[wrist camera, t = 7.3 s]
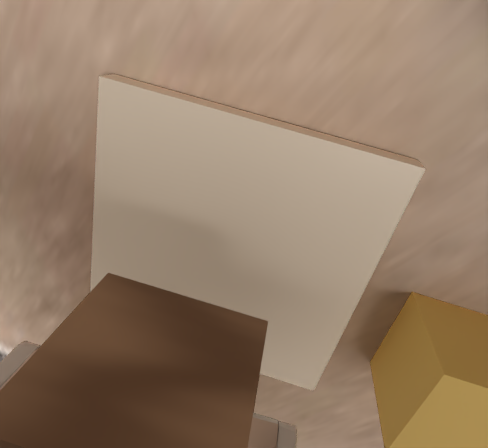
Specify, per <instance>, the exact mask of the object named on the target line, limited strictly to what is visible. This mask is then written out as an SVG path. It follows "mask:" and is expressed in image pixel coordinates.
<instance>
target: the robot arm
mask: <svg viewBox="0 0 488 448" xmlns="http://www.w3.org/2000/svg"><path fill="white" fill-rule="evenodd" d="M40 347H41V346H40V345H37V344H34V343H31V342H28V341H24V342H22V343H20V344H19V345H17V346H16V347H15V348H14V349H13V350H12V351H11V352H10V353H9V354H8V355H7V356H6V357H5V358H4V359H3V360H2V362H0V390H1V389H2V388H3V387H4V386H5V385H6V384H7V383H8V382H9V380H10V379H11V378H12V377H13V376H14V375H15V374H16V373H17V372H18V371H19V370H20V368H21V367H22V366H23V365H24V364H25V363H26V362H27V361H28V360H29V359H30V358H31V356H32V355H33V354H34V353H35V352H36V351H37V350H38V349H39V348H40ZM296 438H297V430H296V427H295V426H294V425H291V424H287V423H284V422H280V421H278V420H276V419H273V418H269V417H266V416H263V415H259V414H256V413H253V417H252V424H251V430H250V436H249V442H248V448H296Z"/></svg>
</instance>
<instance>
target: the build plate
mask: <svg viewBox="0 0 488 448" xmlns="http://www.w3.org/2000/svg"><path fill="white" fill-rule="evenodd" d="M425 170H426V168H425V167H424V166H423V165H422V164H421V163H420V162H419V161H418V160H416V159H413V158H409V157H406V156H402V155H399V154H395V153H392V152H388V151H385V150H381V149H378V148H374V147H371V146H367V145H363V144H360V143H356V142H353V141H349V140H346V139H342V138H339V137H335V136H332V135H328V134H325V133H321V132H317V131H314V130H310V129H307V128H303V127H300V126H296V125H293V124H289V123H286V122H282V121H279V120H275V119H272V118H268V117H264V116H261V115H257V114H254V113H250V112H247V111H243V110H240V109H236V108H233V107H229V106H226V105H222V104H219V103H215V102H211V101H208V100H204V99H201V98H197V97H194V96H190V95H187V94H183V93H180V92H176V91H173V90H169V89H166V88H162V87H158V86H155V85H151V84H148V83H144V82H141V81H137V80H134V79H130V78H127V77H123V76H120V75H116V74H110V75H102V76H99V85H98V109H97V134H96V159H95V184H94V208H93V233H92V258H91V282H90V292H91V291H92V290H93V289H94V288H95V286H96V285H97V284H98V283H99V282H100V281H101V280H102V279H103V278H104V277H105V276H106V274H107V273H111V274H115V275H118V276H121V277H124V278H128V279H131V280H134V281H138V282H141V283H144V284H148V285H151V286H154V287H157V288H161V289H164V290H167V291H171V292H174V293H177V294H180V295H184V296H187V297H190V298H194V299H197V300H200V301H204V302H207V303H210V304H213V305H217V306H220V307H223V308H227V309H230V310H233V311H236V312H240V313H243V314H246V315H250V316H253V317H256V318H260V319H263V320H266V321H268V326H267V332H266V338H265V344H264V350H263V356H262V362H261V369H260V374H262V375H265V376H268V377H271V378H274V379H277V380H280V381H283V382H287V383H290V384H293V385H296V386H299V387H302V388H305V389H308V390H311V391H314V389H315V387H316V385H317V383H318V381H319V379H320V377H321V375H322V373H323V371H324V370H325V368H326V366H327V364H328V362H329V360H330V358H331V356H332V354H333V352H334V350H335V348H336V346H337V344H338V342H339V340H340V338H341V336H342V334H343V332H344V330H345V328H346V326H347V324H348V322H349V320H350V318H351V316H352V314H353V312H354V310H355V308H356V306H357V304H358V302H359V300H360V298H361V296H362V294H363V292H364V290H365V288H366V286H367V284H368V282H369V280H370V278H371V276H372V274H373V272H374V271H375V269H376V267H377V265H378V263H379V261H380V259H381V257H382V255H383V253H384V251H385V249H386V247H387V245H388V243H389V241H390V239H391V237H392V235H393V233H394V231H395V229H396V227H397V225H398V223H399V221H400V219H401V217H402V215H403V213H404V211H405V209H406V207H407V205H408V203H409V201H410V199H411V197H412V195H413V193H414V191H415V189H416V187H417V185H418V183H419V181H420V179H421V177H422V175H423V174H424V172H425Z"/></svg>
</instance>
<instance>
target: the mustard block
mask: <svg viewBox="0 0 488 448" xmlns="http://www.w3.org/2000/svg"><path fill="white" fill-rule="evenodd" d="M370 365H371V371H372V377H373V383H374V389H375V395H376V401H377V406H378V412H379V418H380V424H381V430H382V436H383V442H384V448H488V315H486V314H482V313H479V312H476V311H473V310H469V309H466V308H463V307H460V306H456V305H453V304H450V303H447V302H443V301H440V300H437V299H434V298H430V297H427V296H424V295H421V294H417V293H414V292H412V293H411V294H410V296H409V298H408V299H407V301H406V303H405V304H404V306H403V308H402V309H401V311H400V313H399V314H398V316H397V318H396V319H395V321H394V323H393V324H392V326H391V328H390V330H389V331H388V333H387V335H386V336H385V338H384V340H383V341H382V343H381V345H380V346H379V348H378V350H377V351H376V353H375V355H374V356H373V358H372V360H371V361H370Z"/></svg>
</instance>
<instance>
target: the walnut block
mask: <svg viewBox="0 0 488 448" xmlns="http://www.w3.org/2000/svg"><path fill="white" fill-rule="evenodd" d="M267 326H268V321H266V320H263V319H260V318H256V317H253V316H250V315H246V314H243V313H240V312H236V311H233V310H230V309H227V308H223V307H220V306H217V305H213V304H210V303H207V302H204V301H200V300H197V299H194V298H190V297H187V296H184V295H180V294H177V293H174V292H171V291H167V290H164V289H161V288H157V287H154V286H151V285H148V284H144V283H141V282H138V281H134V280H131V279H128V278H124V277H121V276H118V275H115V274H111V273H107V274H106V276H105V277H104V278H103V279H102V280H101V281H100V282H99V283H98V284H97V285H96V286H95V288H94V289H93V290H92V291H91V292H90V293H89V294H88V295H87V296H86V297H85V299H84V300H83V301H82V302H81V303H80V304H79V305H78V306H77V307H76V308H75V309H74V311H73V312H72V313H71V314H70V315H69V316H68V317H67V318H66V319H65V320H64V321H63V323H62V324H61V325H60V326H59V327H58V328H57V329H56V330H55V331H54V332H53V333H52V335H51V336H50V337H49V338H48V339H47V340H46V341H45V342H44V343H43V344H42V345H41V347H40V348H39V349H38V350H37V351H36V352H35V353H34V354H33V355H32V356H31V358H30V359H29V360H28V361H27V362H26V363H25V364H24V365H23V366H22V367H21V368H20V370H19V371H18V372H17V373H16V374H15V375H14V376H13V377H12V378H11V379H10V380H9V382H8V383H7V384H6V385H5V386H4V387H3V388H2V389H1V390H0V448H248V442H249V436H250V430H251V424H252V417H253V411H254V405H255V399H256V393H257V387H258V381H259V375H260V369H261V362H262V356H263V350H264V344H265V338H266V332H267Z"/></svg>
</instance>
